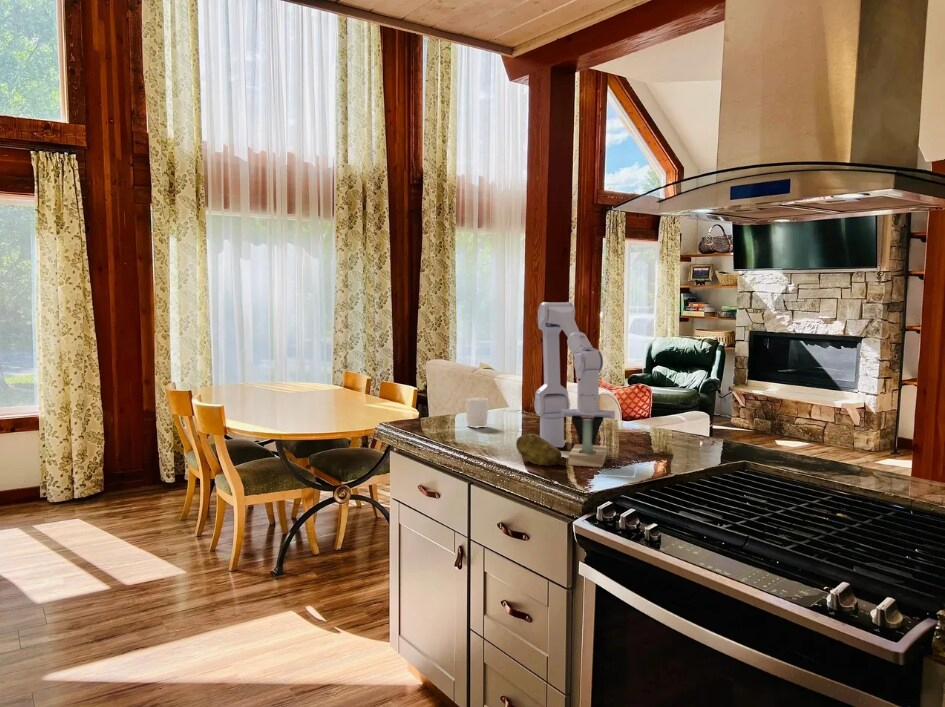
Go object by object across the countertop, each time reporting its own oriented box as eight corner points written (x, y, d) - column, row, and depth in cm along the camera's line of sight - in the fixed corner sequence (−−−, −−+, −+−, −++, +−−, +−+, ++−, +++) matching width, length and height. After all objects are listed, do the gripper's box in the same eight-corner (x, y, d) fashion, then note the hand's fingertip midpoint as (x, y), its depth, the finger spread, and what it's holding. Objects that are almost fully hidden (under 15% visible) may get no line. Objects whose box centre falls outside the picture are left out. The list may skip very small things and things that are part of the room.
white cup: (463, 428, 248) (462, 399, 247) (469, 424, 255) (469, 396, 254) (484, 429, 245) (484, 400, 244) (490, 425, 253) (490, 397, 252)
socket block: (574, 454, 206) (574, 444, 205) (606, 456, 203) (606, 446, 203) (568, 465, 192) (568, 454, 192) (602, 467, 190) (602, 456, 190)
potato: (542, 470, 187) (542, 440, 186) (511, 461, 197) (511, 433, 197) (565, 466, 192) (565, 436, 191) (534, 457, 202) (534, 429, 202)
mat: (556, 451, 209) (556, 450, 209) (574, 452, 208) (574, 451, 208) (552, 457, 202) (552, 456, 202) (571, 458, 200) (571, 457, 200)
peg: (582, 455, 197) (582, 419, 197) (593, 455, 197) (593, 419, 196) (581, 457, 194) (582, 421, 194) (592, 457, 194) (593, 421, 193)
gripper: (559, 395, 192) (559, 445, 193) (614, 397, 189) (613, 448, 190) (562, 392, 199) (562, 440, 200) (615, 393, 195) (615, 442, 196)
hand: (587, 443), depth 195 cm, fingers closed on peg, 3 cm apart
